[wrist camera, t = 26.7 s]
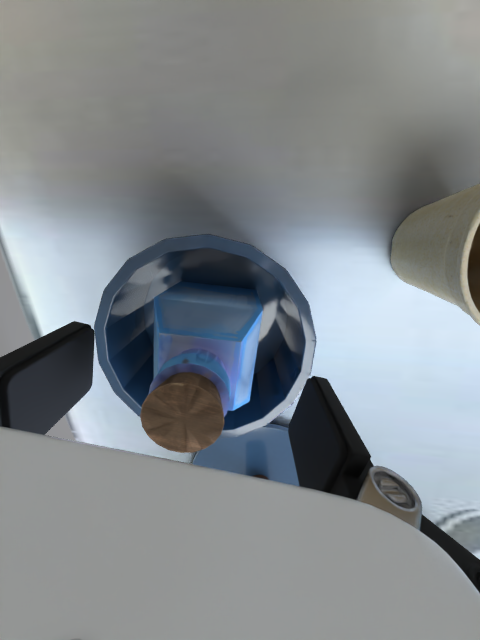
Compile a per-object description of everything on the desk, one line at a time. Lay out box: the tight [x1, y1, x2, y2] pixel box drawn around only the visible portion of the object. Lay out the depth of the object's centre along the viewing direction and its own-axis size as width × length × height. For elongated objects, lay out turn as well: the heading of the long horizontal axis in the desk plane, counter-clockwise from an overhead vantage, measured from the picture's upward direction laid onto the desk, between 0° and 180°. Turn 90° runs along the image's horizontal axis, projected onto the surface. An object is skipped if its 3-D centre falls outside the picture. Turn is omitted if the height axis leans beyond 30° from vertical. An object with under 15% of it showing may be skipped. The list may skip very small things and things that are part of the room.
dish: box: [94, 234, 316, 438], centre depth 18 cm, size 13×14×6 cm
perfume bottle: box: [140, 281, 263, 453], centre depth 15 cm, size 6×6×12 cm
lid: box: [192, 423, 299, 486], centre depth 23 cm, size 14×14×6 cm
